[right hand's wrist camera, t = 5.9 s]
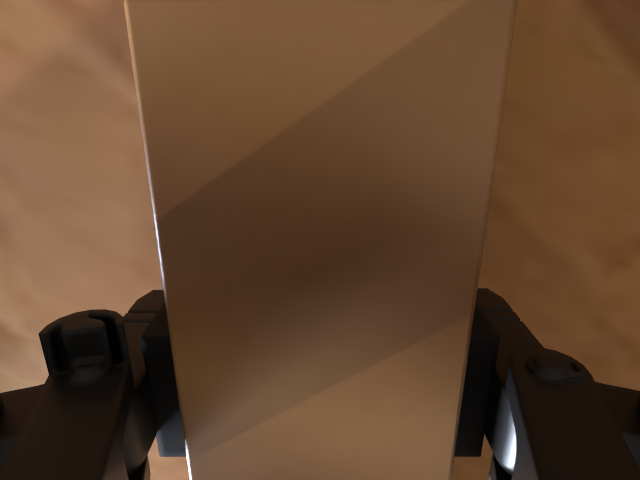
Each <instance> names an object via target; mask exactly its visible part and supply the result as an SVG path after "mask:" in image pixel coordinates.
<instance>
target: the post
mask: <svg viewBox="0 0 640 480" xmlns="http://www.w3.org/2000/svg"><path fill="white" fill-rule="evenodd" d="M516 6H517V0H124V8H125V15H126V22H127V30H128V37H129V44H130V51H131V59H132V66H133V73H134V80H135V88H136V95H137V102H138V109H139V116H140V124H141V131H142V138H143V145H144V153H145V160H146V167H147V174H148V182H149V189H150V196H151V203H152V210H153V218H154V225H155V232H156V239H157V247H158V254H159V261H160V268H161V276H162V283H163V290H164V297H165V305H166V312H167V319H168V326H169V333H170V341H171V348H172V355H173V362H174V370H175V377H176V384H177V391H178V399H179V406H180V413H181V420H182V428H183V435H184V442H185V449H186V456H187V464H188V471H189V478H190V480H451V475H452V468H453V461H454V453H455V446H456V439H457V432H458V425H459V417H460V410H461V403H462V396H463V388H464V381H465V374H466V367H467V360H468V352H469V345H470V338H471V331H472V323H473V316H474V309H475V302H476V295H477V287H478V280H479V273H480V266H481V258H482V251H483V244H484V237H485V230H486V222H487V215H488V208H489V201H490V194H491V186H492V179H493V172H494V165H495V157H496V150H497V143H498V136H499V129H500V121H501V114H502V107H503V100H504V92H505V85H506V78H507V71H508V64H509V56H510V49H511V42H512V35H513V27H514V20H515V13H516Z"/></svg>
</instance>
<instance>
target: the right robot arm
mask: <svg viewBox="0 0 640 480" xmlns="http://www.w3.org/2000/svg"><path fill="white" fill-rule="evenodd" d="M39 337H40V341H41V345H42V349H43V353H44V357H45V361H46V364H47V368H48V372H49V376H48V378H47V380H46V382H45V384H42V385H38V386H34V387H29V388H24V389H19V390H14V391H9V392H4V393H0V480H150V467H149V461H148V455H147V454H148V452H149V450H150V447H151V445H152V443H153V441H154V439H155V436H157V442H158V448H159V455H160V457H187V456H186V449H185V442H184V435H183V428H182V420H181V413H180V406H179V399H178V391H177V384H176V377H175V370H174V362H173V355H172V348H171V341H170V333H169V326H168V319H167V312H166V305H165V297H164V290H153V291H151V292H149V293H148V294H146V295H144V296H143V297H141V298H139V299H138V300H137V301H136V302H135V303H134V305H133V306H132V307H131V308H130V310H129V311H128V313H126V314H125V316H124V317H122V316H121V315H120V314H118V313H117V312H115V311H110V310H105V309H104V310H87V311H82V312H77V313H73V314H70V315H67V316H65V317H62V318H59V319H57V320H56V321H54V322H52V323H50V324H49V325H47V326H46V327H45V328H44V329H43V330H42V331H41V332H40V333H39ZM484 433H485V436H486V438H487V440H488V442H489V444H490V447H491V449H492V451H493V455H492V461H491V467H490V472H489V478H488V480H640V391H637V390H632V389H627V388H622V387H617V386H611V385H606V384H602V383H598V382H595V381H594V379H593V377H592V375H591V374H590V373H589V371H588V370H587V369H586V368H585V367H584V365H582V364H581V363H579V362H578V361H576V360H575V359H573V358H572V357H570V356H567V355H565V354H563V353H560V352H558V351H554V350H550V349H545V348H543V346H542V345H541V344H540V343H539V341H538V340H537V339H536V338H535V337H534V335H533V334H532V333H531V332H530V330H529V329H528V328H527V327H526V326H525V324H524V323H523V322H522V321H520V318H519V317H518V316H517V315H516V313H515V312H512V309H511V307H510V306H509V305H508V304H507V302H506V301H505V300H504V299H503V298H502V297H500V296H499V295H497V294H495V293H494V292H492V291H490V290H489V289H487V288H477V295H476V302H475V309H474V316H473V323H472V331H471V338H470V345H469V352H468V360H467V367H466V374H465V381H464V388H463V396H462V403H461V410H460V417H459V425H458V432H457V439H456V446H455V453H454V457H480V456H481V450H482V444H483V438H484Z"/></svg>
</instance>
